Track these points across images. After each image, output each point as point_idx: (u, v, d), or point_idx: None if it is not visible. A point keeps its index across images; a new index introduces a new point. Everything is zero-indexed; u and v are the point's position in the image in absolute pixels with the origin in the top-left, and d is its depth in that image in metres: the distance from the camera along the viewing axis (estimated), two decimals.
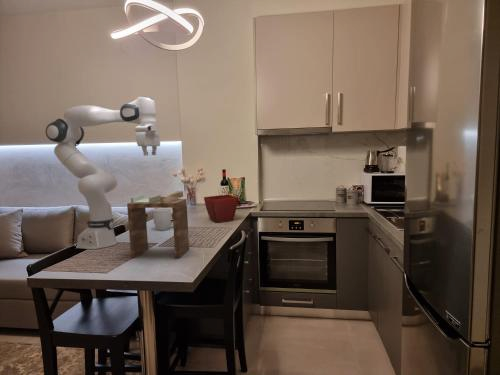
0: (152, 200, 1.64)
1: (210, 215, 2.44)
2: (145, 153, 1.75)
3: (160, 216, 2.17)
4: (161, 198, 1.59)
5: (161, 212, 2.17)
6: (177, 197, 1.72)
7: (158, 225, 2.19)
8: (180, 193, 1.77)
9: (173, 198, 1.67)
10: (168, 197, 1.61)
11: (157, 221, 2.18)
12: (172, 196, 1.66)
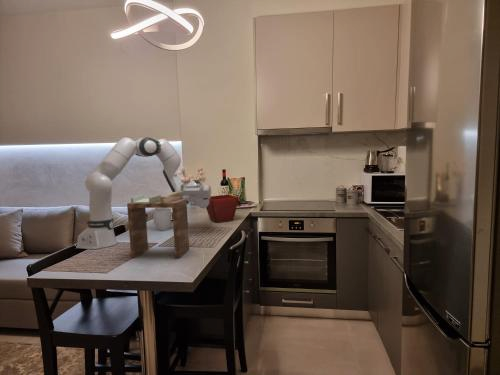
0: (152, 200, 1.64)
1: (210, 215, 2.44)
2: (199, 185, 1.95)
3: (160, 216, 2.17)
4: (161, 198, 1.59)
5: (161, 212, 2.17)
6: (177, 197, 1.72)
7: (158, 225, 2.19)
8: (180, 193, 1.77)
9: (173, 198, 1.67)
10: (168, 197, 1.61)
11: (157, 221, 2.18)
12: (172, 196, 1.66)
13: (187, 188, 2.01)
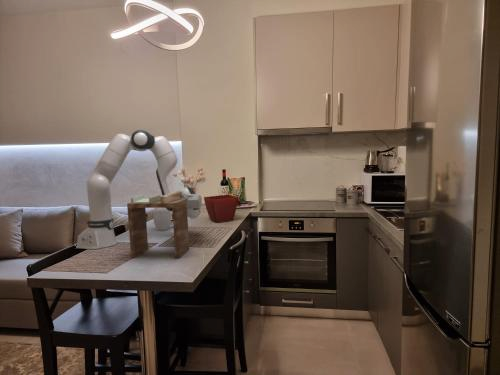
0: (152, 200, 1.64)
1: (210, 215, 2.44)
2: (183, 195, 1.77)
3: (160, 216, 2.17)
4: (161, 198, 1.59)
5: (161, 212, 2.17)
6: (177, 197, 1.72)
7: (158, 225, 2.19)
8: None
9: (173, 198, 1.67)
10: (168, 197, 1.61)
11: (157, 221, 2.18)
12: (172, 196, 1.66)
13: None
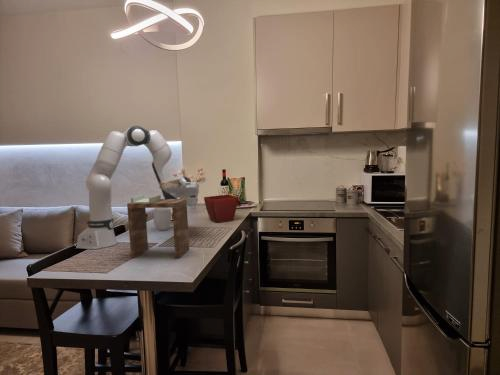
0: (152, 200, 1.64)
1: (210, 215, 2.44)
2: (181, 182, 1.86)
3: (160, 216, 2.17)
4: (160, 184, 1.69)
5: (161, 212, 2.17)
6: (175, 184, 1.82)
7: (158, 225, 2.19)
8: (178, 180, 1.86)
9: (172, 184, 1.77)
10: (167, 183, 1.71)
11: (157, 221, 2.18)
12: (171, 182, 1.76)
13: None
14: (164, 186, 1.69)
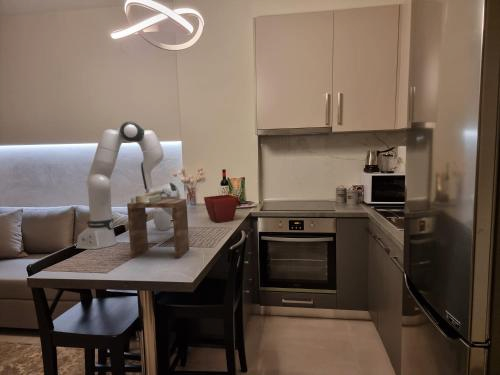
0: (152, 200, 1.64)
1: (210, 215, 2.44)
2: (165, 191, 1.78)
3: (160, 216, 2.17)
4: (136, 197, 1.61)
5: (161, 212, 2.17)
6: None
7: (158, 225, 2.19)
8: (158, 193, 1.79)
9: (149, 197, 1.69)
10: (144, 196, 1.63)
11: (157, 221, 2.18)
12: (148, 196, 1.68)
13: None
14: (140, 200, 1.61)
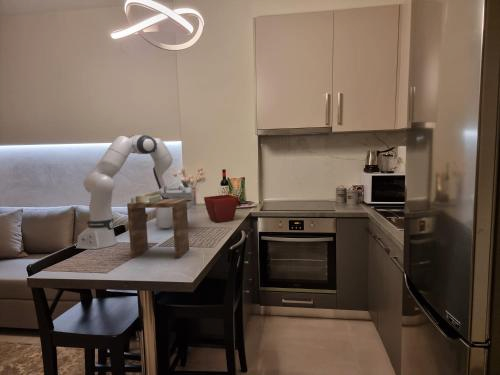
0: (152, 200, 1.64)
1: (210, 215, 2.44)
2: (181, 187, 2.00)
3: (167, 212, 2.20)
4: (136, 197, 1.61)
5: (168, 208, 2.20)
6: None
7: (162, 221, 2.19)
8: (158, 193, 1.79)
9: (149, 197, 1.69)
10: (144, 196, 1.63)
11: (162, 217, 2.19)
12: (148, 196, 1.68)
13: (170, 190, 2.06)
14: (140, 200, 1.61)
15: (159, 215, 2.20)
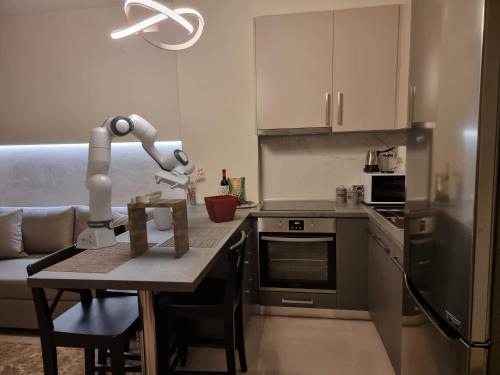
0: (152, 200, 1.64)
1: (210, 215, 2.44)
2: (173, 187, 1.98)
3: (163, 215, 2.18)
4: (136, 197, 1.61)
5: (163, 210, 2.17)
6: None
7: (161, 224, 2.18)
8: (158, 193, 1.79)
9: (149, 197, 1.69)
10: (144, 196, 1.63)
11: (160, 221, 2.18)
12: (148, 196, 1.68)
13: (165, 179, 2.03)
14: (140, 200, 1.61)
15: (156, 219, 2.18)
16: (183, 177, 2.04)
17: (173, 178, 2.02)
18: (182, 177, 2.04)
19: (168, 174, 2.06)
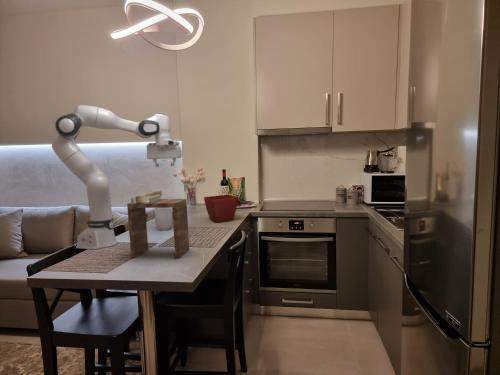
0: (152, 200, 1.64)
1: (210, 215, 2.44)
2: (173, 164, 2.01)
3: (165, 216, 2.18)
4: (136, 197, 1.61)
5: (165, 211, 2.18)
6: None
7: (162, 225, 2.18)
8: (158, 193, 1.79)
9: (149, 197, 1.69)
10: (144, 196, 1.63)
11: (161, 221, 2.18)
12: (148, 196, 1.68)
13: None
14: (140, 200, 1.61)
15: (157, 219, 2.18)
16: (172, 147, 1.97)
17: (165, 154, 1.99)
18: (171, 147, 1.97)
19: (157, 150, 1.99)
